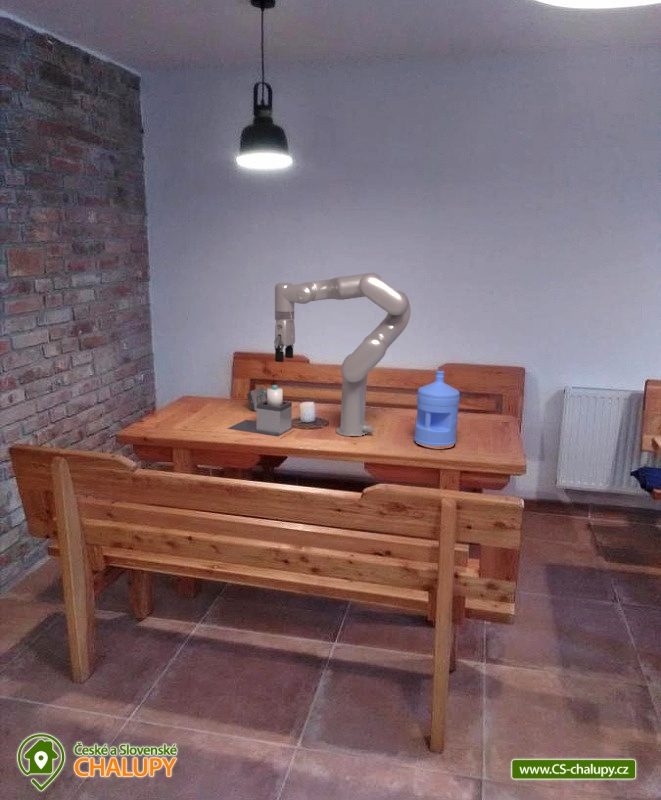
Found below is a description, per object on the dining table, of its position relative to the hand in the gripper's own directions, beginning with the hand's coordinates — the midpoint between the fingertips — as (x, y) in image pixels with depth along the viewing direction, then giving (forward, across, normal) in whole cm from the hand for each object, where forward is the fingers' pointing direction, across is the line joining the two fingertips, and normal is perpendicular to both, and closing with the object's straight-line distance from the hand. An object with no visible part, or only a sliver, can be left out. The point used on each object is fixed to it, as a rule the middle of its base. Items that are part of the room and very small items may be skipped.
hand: (284, 359), depth 254 cm
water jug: (+29, +5, -60) cm, 67 cm away
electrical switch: (+28, +22, +22) cm, 42 cm away
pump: (+17, -8, 0) cm, 19 cm away
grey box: (+28, -8, +6) cm, 29 cm away
